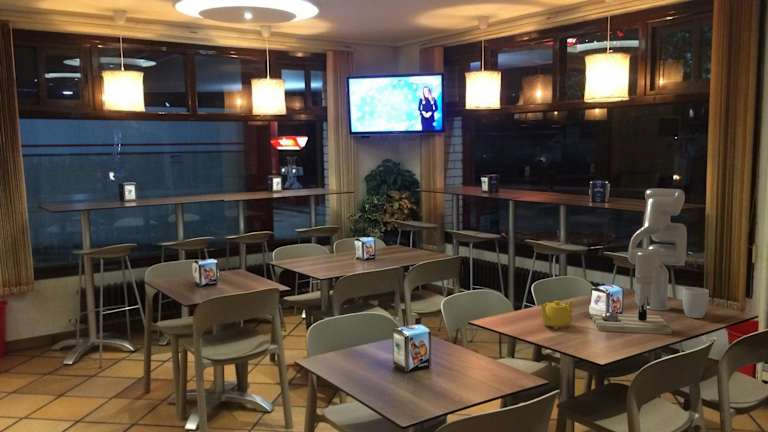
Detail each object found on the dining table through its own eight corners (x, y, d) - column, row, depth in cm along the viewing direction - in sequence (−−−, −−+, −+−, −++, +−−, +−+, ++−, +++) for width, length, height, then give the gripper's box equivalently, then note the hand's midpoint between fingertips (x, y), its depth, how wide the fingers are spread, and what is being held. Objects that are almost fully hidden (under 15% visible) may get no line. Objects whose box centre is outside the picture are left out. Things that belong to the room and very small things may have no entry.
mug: (692, 311, 317) (693, 284, 316) (715, 315, 309) (717, 288, 307) (677, 316, 308) (678, 289, 306) (700, 321, 299) (702, 293, 298)
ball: (601, 314, 297) (614, 314, 297) (603, 327, 294) (616, 327, 294) (605, 309, 292) (619, 309, 292) (607, 322, 289) (621, 322, 289)
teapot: (559, 318, 303) (560, 294, 302) (583, 326, 291) (584, 301, 289) (526, 324, 293) (527, 299, 292) (550, 333, 281) (551, 307, 279)
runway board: (591, 318, 304) (591, 313, 304) (659, 321, 300) (659, 315, 299) (598, 330, 284) (598, 325, 284) (671, 333, 280) (671, 328, 280)
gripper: (631, 275, 296) (629, 315, 298) (639, 282, 281) (637, 324, 283) (648, 276, 295) (646, 316, 297) (657, 283, 280) (655, 325, 282)
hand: (642, 320), depth 290 cm, fingers closed
